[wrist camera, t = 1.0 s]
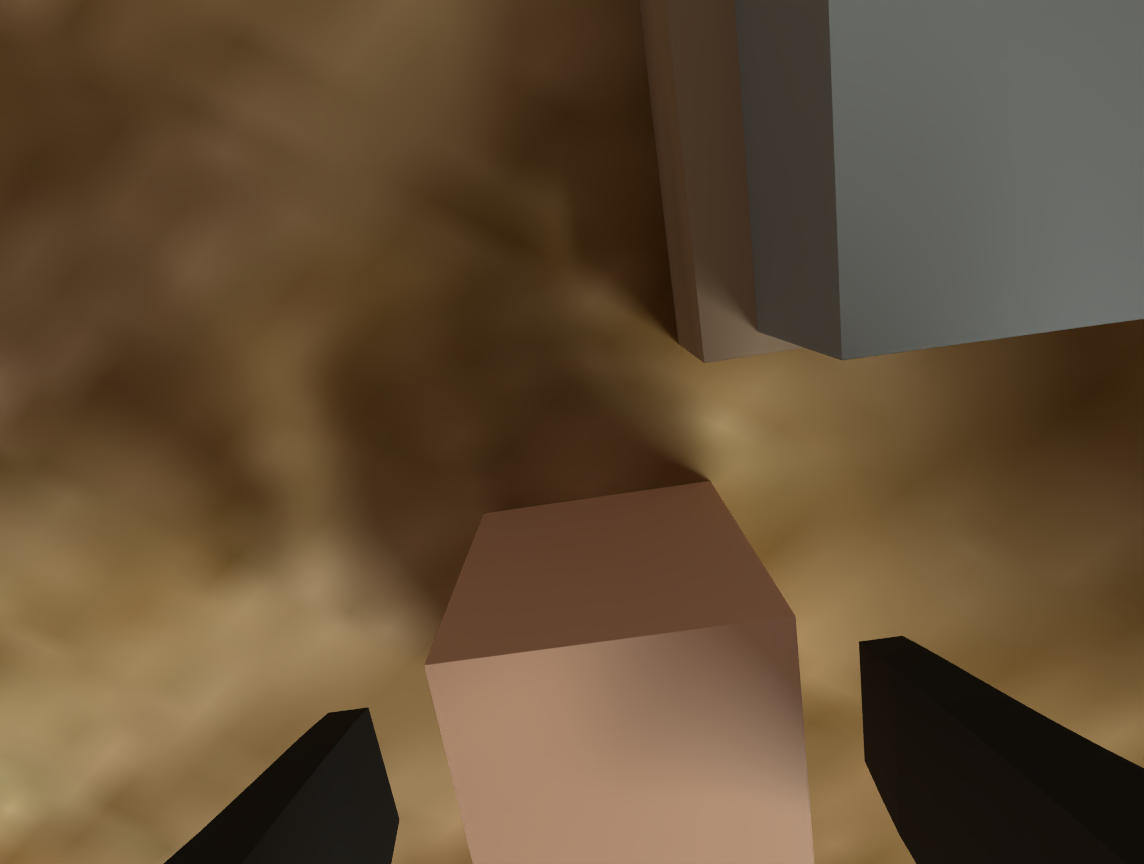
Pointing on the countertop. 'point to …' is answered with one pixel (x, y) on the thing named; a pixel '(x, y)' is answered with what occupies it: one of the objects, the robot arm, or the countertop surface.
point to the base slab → (703, 175)
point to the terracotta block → (622, 688)
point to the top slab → (942, 168)
